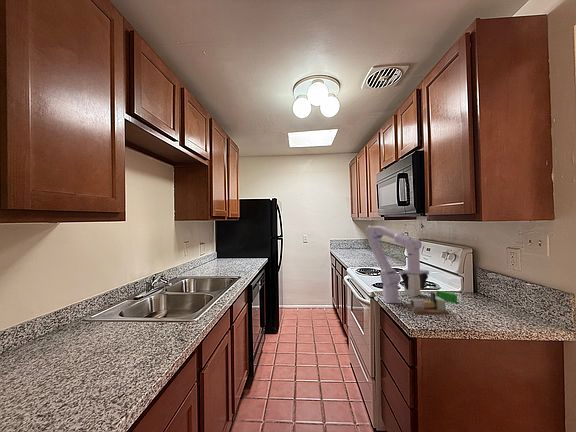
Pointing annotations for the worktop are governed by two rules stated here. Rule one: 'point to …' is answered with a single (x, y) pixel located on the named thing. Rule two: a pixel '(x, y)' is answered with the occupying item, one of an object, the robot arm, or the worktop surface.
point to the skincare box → (412, 285)
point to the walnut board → (427, 310)
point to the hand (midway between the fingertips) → (414, 288)
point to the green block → (447, 296)
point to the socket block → (440, 303)
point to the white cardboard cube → (417, 303)
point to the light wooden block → (432, 302)
